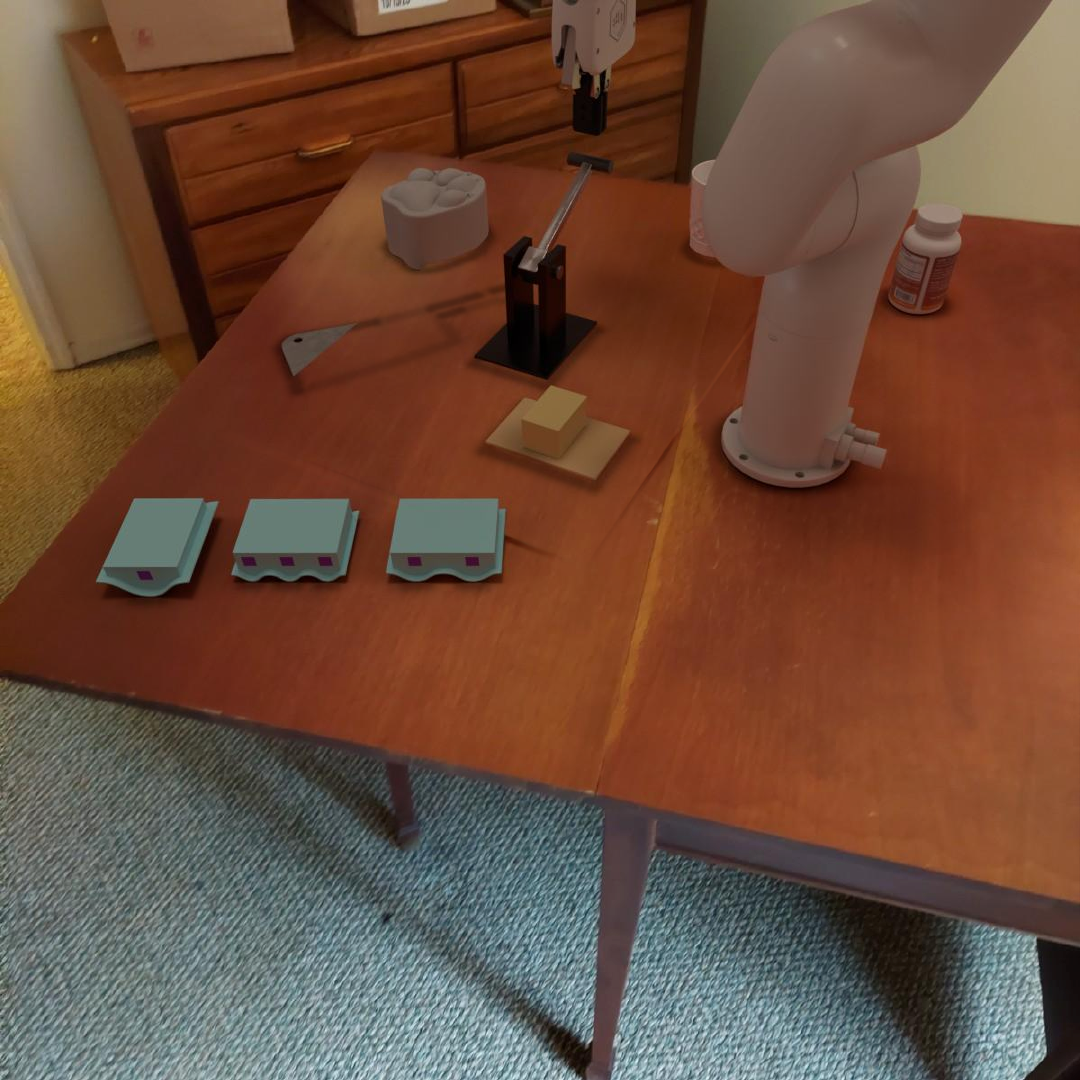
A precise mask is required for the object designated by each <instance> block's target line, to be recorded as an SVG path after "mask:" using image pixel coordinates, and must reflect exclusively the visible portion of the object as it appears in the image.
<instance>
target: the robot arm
mask: <svg viewBox="0 0 1080 1080" xmlns="http://www.w3.org/2000/svg"><path fill="white" fill-rule="evenodd" d="M1052 2H1053V0H869V1H867V2H864V3H861V4H857V5H853V6H849V7H845V8H842V9H838V10H835V11H832V12H828V13H825V14H823V15H820V16H818V17H815V18H813V19H811V20H809V21H807V22H805V23H803V24H802V25H800V26H799V27H797V28H796V29H795V30H793V31H792V32H791V33H790V34H789V35H788V36H787V37H786V38H784V39H783V40H782V42H781V43H780V44H778V46H777V47H776V48H775V49H774V51H773V52H772V53H771V54H770V56H769V57H768V58H767V60H766V61H765V63H764V65H763V66H762V68H761V70H760V72H759V74H758V75H757V77H756V79H755V81H754V83H753V85H752V87H751V89H750V90H749V93H748V95H747V97H746V99H745V101H744V103H743V104H742V106H741V109H740V110H739V113H738V115H737V117H736V119H735V120H734V123H733V124H732V126H731V128H730V130H729V132H728V134H727V136H726V138H725V140H724V142H723V144H722V146H721V148H720V151H719V152H718V154H717V156H716V158H715V159H714V160H715V162H714V165H713V167H712V169H711V172H710V174H709V177H708V180H707V183H706V187H705V191H704V196H703V203H702V223H703V229H704V234H705V238H706V241H707V244H708V246H709V248H710V250H711V252H712V253H713V255H714V256H715V257H716V258H715V257H714V258H715V259H716V260H717V261H718V262H719V263H720V264H721V265H722V266H723V267H724V268H725V269H727V270H729V271H731V272H733V273H736V274H737V275H741V276H746V277H764V280H763V284H762V289H761V292H760V293H761V294H760V299H759V304H758V311H757V316H756V323H755V329H754V334H753V339H752V346H751V353H750V358H749V364H748V370H747V376H746V382H745V388H744V394H743V400H742V406H740V407H738V408H736V409H735V410H734V411H732V412H731V413H730V414H729V415H728V417H727V418H726V420H725V421H724V423H723V425H722V431H721V437H720V438H721V441H720V442H721V447H722V451H723V453H724V454H725V456H726V458H727V460H729V462H730V463H731V464H732V466H734V467H735V468H737V469H738V470H739V471H740V472H742V473H743V474H745V475H747V476H748V477H750V478H752V479H754V480H757V481H760V482H762V483H764V484H767V485H773V486H776V487H783V488H792V489H793V488H794V489H795V488H797V489H798V488H802V489H803V488H809V487H817V486H819V485H823V484H826V483H829V482H830V481H832V480H835V479H836V478H838V477H839V476H840V475H842V474H843V473H844V472H845V471H846V469H847V468H848V467H849V466H850V463H851V461H854V462H857V463H860V464H861V465H864V466H867V467H870V468H873V469H877V470H881V469H882V466H883V463H884V461H885V458H886V455H887V452H888V449H886V448H882V447H880V446H877V445H878V442H879V439H880V435H881V433H879V432H877V431H873V430H870V429H864V428H861V427H857V424H856V423H853V422H852V418H853V414H854V410H855V409H854V407H851V406H849V403H850V400H851V396H852V391H853V389H854V388H853V387H854V384H855V380H856V376H857V372H858V368H859V365H860V361H861V357H862V353H863V350H864V346H865V342H866V338H867V334H868V331H869V327H870V324H871V321H872V318H873V315H874V311H875V307H876V303H877V300H878V296H879V294H880V293H879V292H880V289H881V286H882V283H883V279H884V276H885V273H886V271H887V268H888V265H889V262H890V260H891V257H892V256H893V253H894V251H895V248H896V246H897V245H898V243H899V240H900V238H901V236H902V234H903V233H904V230H905V228H906V226H907V223H908V221H909V219H910V218H911V215H912V212H913V210H914V207H915V205H916V201H917V198H918V194H919V189H920V184H921V178H922V177H921V175H922V165H921V164H922V163H921V157H920V153H919V148H918V146H919V145H921V144H924V143H926V142H929V141H931V140H933V139H935V138H938V137H939V136H941V135H943V134H944V133H945V132H947V131H949V130H950V129H952V128H953V127H955V126H956V125H957V124H958V123H959V122H960V121H961V120H962V119H963V118H964V117H965V116H966V114H968V112H969V111H970V110H971V109H972V107H973V106H974V105H975V104H976V102H977V101H978V99H979V98H980V97H981V96H982V94H983V93H984V91H985V90H986V89H987V87H988V86H989V85H990V84H991V82H992V81H993V80H994V78H995V77H996V76H997V75H998V73H1000V71H1001V70H1002V68H1003V67H1004V66H1005V64H1006V63H1007V62H1008V60H1009V59H1010V57H1011V56H1012V55H1013V54H1014V52H1015V51H1016V50H1017V49H1018V47H1019V46H1020V45H1021V43H1022V42H1023V41H1024V40H1025V38H1026V37H1027V36H1028V35H1029V33H1030V32H1031V31H1032V29H1033V28H1034V27H1035V25H1037V23H1038V21H1039V20H1040V19H1041V18H1042V16H1043V15H1044V13H1045V12H1046V10H1047V9H1048V8H1049V6H1050V5H1051V3H1052ZM636 7H637V0H552V11H551V53H552V54H551V56H552V62H553V65H554V67H555V68H556V69H558V70H562V73H561V82H560V83H561V88H564V89H565V88H566V89H570V93H571V95H572V130H573V131H574V132H575V133H581V134H585V135H591V136H595V137H599V136H600V135H601V134H602V133H603V132H605V131H606V129H607V126H608V125H607V123H608V96H609V95H608V94H609V91H608V90H609V88H610V85H611V78H612V77H611V75H612V66H613V64H615V63H616V62H617V61H618V60H620V59H621V58H623V56H625V55H626V54H627V53H628V52H630V51H631V49H632V48H633V47H634V44H635V40H636V16H637V15H636V13H637V12H636V11H637V10H636V9H637V8H636Z"/></svg>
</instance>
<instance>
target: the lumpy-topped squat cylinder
mask: <svg viewBox="0 0 1080 1080" xmlns="http://www.w3.org/2000/svg"><path fill="white" fill-rule="evenodd" d="M380 199H381V207H382V214H383V222H384V227H385V229H384V230H385V236H386V242H387V249H388V251H389V253H391V254H392V255H394V256H396V257H398V258H400V259H401V260H402V261H403V262H404V263H405V264H406V265H407V266H408V267H409V268H410V269H412V270H416V271H422V270H423V269H425V267H427V266H428V265H431V264H437V263H440V262H445V261H448V260H450V259H453V258H456V257H458V256H461V255H464V254H466V253H469V252H472V251H473V250H475V249H477V248H478V247H479V246H480V245H481V244H482V243H484V241H485V240H486V239H487V237H488V235H489V231H490V227H489V212H488V196H487V183H486V181H485V179H484V177H482V175H479V174H476V173H474V172H473V173H472V172H470V171H462V170H461V169H458V168H454V167H448V168H445V169H443V170H441V171H440V170H438V169H437V170H434V171H432V170H430V169H428V168H425V167H417V168H415V169H413V170H411V171H410V172H409V174H408V175H407V179H403V180H402V181H398V182H396V183H393V184H391V185H389V186H387V187H386V188H384V190H383V191H382V193H381V194H380Z"/></svg>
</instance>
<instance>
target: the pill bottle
mask: <svg viewBox="0 0 1080 1080" xmlns="http://www.w3.org/2000/svg"><path fill="white" fill-rule="evenodd" d="M963 216H964V215H963V212H962V211H961V210H960V209H959V208H957V207H956V206H953V205H950V204H947V203H942V202H931V203H926V204H923V205H921V206H920V207H919V208H918V209H917V212H916V215H915V219H914V224H912V225H911V226H909V227H908V228H907V229H906V230H905V232H904V234H903V238H902V241H901V245H900V248H899V251H898V255H897V259H896V263H895V268H894V269H893V270H894V271H893V273H892V278H891V281H890V286H889V290H888V294H887V295H888V296H887V297H888V300H889V302H890V304H891V305H892V306H893V307H895V308H896V309H897V310H900V311H902V312H904V313H908V314H912V315H927V314H930V313H934V312H936V311H938V310H939V309H940V308H942V306H943V304H944V301H945V300H946V299H945V298H946V295H947V292H948V289H949V286H950V282H951V279H952V277H953V273H954V270H955V266H956V263H957V260H958V256H959V253H960V250H961V246H962V236H961V234H960V232H959V231H958V230H959V228H961V224H962V221H963Z"/></svg>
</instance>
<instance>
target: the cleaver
mask: <svg viewBox="0 0 1080 1080" xmlns="http://www.w3.org/2000/svg"><path fill="white" fill-rule="evenodd" d="M356 325H358V322H354V323H349V324H345V325H340V326H334V327H333V326H332V327H328V328H322V329H317V330H313V331H307V332H301V333H295V334H293V335H290V336H288V337H286V339H284V340H283V341H282V343H281V349H282V352H283V355H284V358H285V360H286V362H287V365H288V367H289V370H290V372H291V374H292V377H293V378H294V377H295V376H297V374H299V373H300V372H301V371H302V370H303V369H305V368H306V367H307V366H308V365H309V364H311V363H312V362H313V361H314V360H316V359H317V358H318V357H319V356H320V355H321V354H323V353H324V352H325V351H326V350H327V349H328V348H330V347H331V346H332V345H333V344H334V343H336V342H337V341H338V340H340V338H342V337H344V335H345V334H347V333H348V332H349V331H350V330H351V329H352V328H353V327H354V326H356ZM296 340H301V341H300V342H296Z"/></svg>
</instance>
